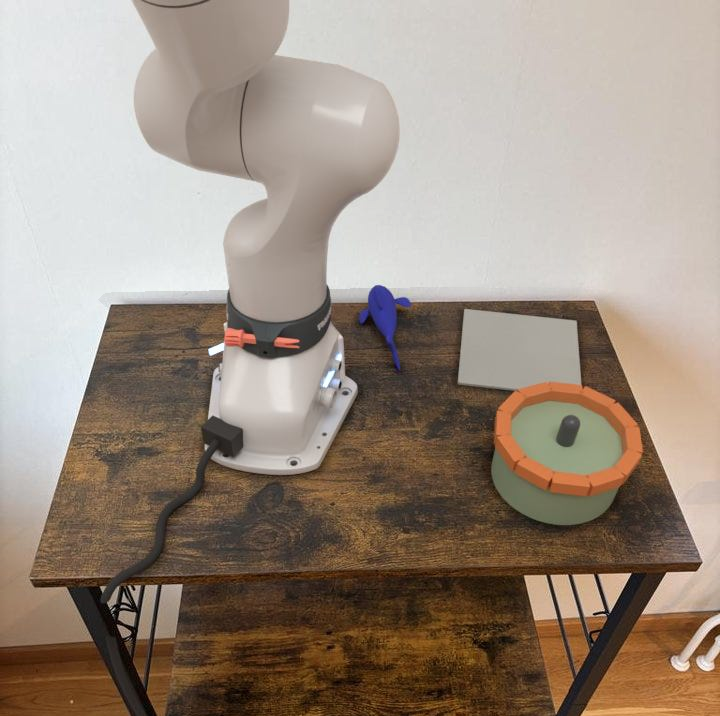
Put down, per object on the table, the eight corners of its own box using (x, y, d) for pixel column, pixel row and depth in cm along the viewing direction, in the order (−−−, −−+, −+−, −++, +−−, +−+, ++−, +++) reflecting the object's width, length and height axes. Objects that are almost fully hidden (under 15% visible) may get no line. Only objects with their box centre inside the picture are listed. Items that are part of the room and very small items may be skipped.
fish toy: (359, 314, 107) (344, 277, 102) (409, 297, 106) (396, 258, 101) (373, 382, 97) (357, 345, 92) (428, 364, 96) (414, 325, 91)
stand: (620, 533, 80) (649, 476, 73) (489, 516, 81) (504, 458, 74) (610, 439, 90) (634, 380, 82) (492, 425, 91) (506, 366, 83)
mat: (581, 398, 94) (582, 396, 94) (457, 384, 95) (457, 382, 95) (576, 322, 104) (576, 320, 104) (464, 310, 106) (464, 308, 105)
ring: (644, 504, 75) (649, 494, 74) (492, 485, 76) (494, 475, 75) (630, 400, 85) (634, 390, 84) (496, 385, 87) (498, 375, 85)
